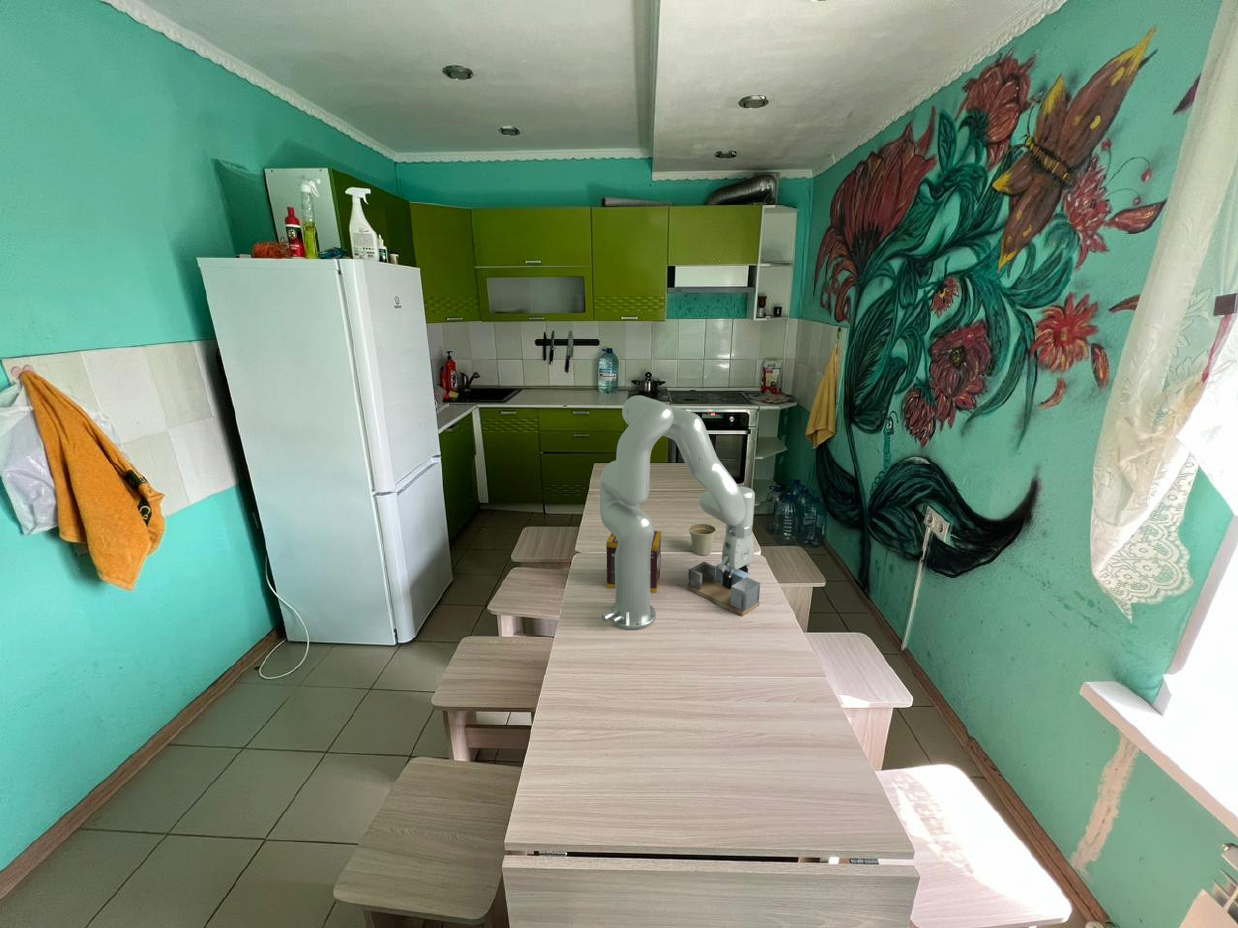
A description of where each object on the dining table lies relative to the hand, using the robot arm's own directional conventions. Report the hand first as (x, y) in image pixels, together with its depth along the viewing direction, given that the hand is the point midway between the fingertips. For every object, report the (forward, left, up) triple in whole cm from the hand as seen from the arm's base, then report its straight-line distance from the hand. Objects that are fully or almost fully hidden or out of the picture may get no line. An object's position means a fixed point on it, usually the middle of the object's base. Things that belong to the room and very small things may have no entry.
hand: (734, 582), depth 157 cm
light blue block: (+1, +1, -1) cm, 2 cm away
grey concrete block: (-7, -9, 0) cm, 12 cm away
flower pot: (+11, +21, -2) cm, 24 cm away
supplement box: (-20, +22, -2) cm, 30 cm away
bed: (-7, -1, -1) cm, 8 cm away
